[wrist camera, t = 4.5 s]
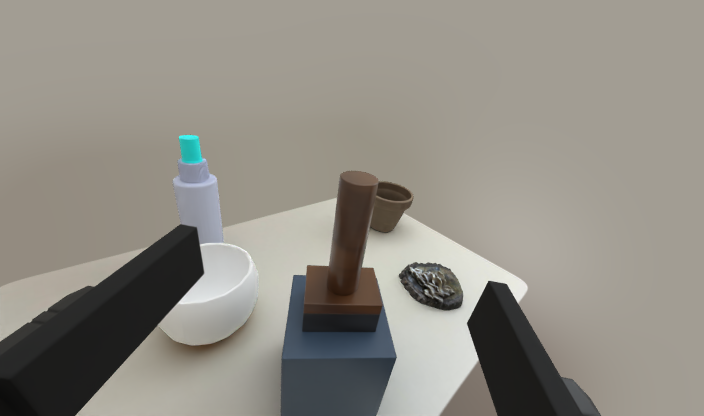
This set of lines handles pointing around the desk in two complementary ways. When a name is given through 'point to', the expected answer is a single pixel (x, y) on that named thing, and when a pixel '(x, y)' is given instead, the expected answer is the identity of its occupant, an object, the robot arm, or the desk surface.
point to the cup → (215, 297)
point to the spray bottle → (197, 192)
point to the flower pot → (389, 205)
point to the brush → (346, 266)
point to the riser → (333, 366)
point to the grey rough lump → (432, 285)
